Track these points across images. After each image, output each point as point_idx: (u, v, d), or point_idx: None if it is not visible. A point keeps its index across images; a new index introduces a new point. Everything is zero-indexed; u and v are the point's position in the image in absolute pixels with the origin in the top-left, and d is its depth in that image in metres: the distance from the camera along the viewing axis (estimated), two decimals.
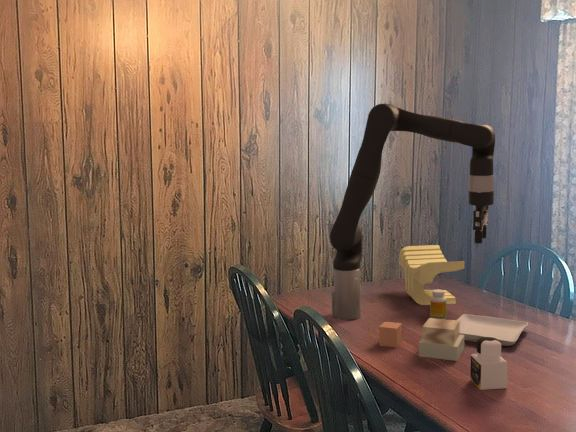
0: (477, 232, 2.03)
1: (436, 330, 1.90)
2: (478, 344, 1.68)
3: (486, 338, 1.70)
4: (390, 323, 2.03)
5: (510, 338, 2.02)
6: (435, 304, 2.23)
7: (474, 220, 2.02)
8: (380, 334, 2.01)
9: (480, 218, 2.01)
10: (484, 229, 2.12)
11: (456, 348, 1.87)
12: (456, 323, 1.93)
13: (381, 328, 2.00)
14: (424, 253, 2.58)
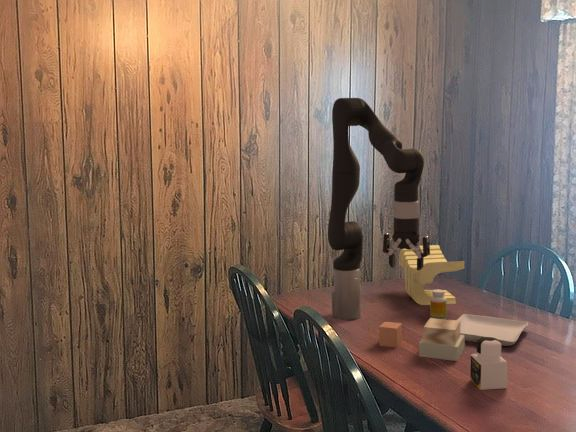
0: (422, 258, 1.98)
1: (437, 330, 1.89)
2: (478, 344, 1.68)
3: (486, 338, 1.70)
4: (390, 323, 2.03)
5: (510, 338, 2.02)
6: (435, 304, 2.23)
7: (427, 246, 1.96)
8: (380, 334, 2.01)
9: (429, 243, 1.97)
10: (394, 257, 2.04)
11: (456, 348, 1.87)
12: (457, 323, 1.93)
13: (381, 328, 2.00)
14: None
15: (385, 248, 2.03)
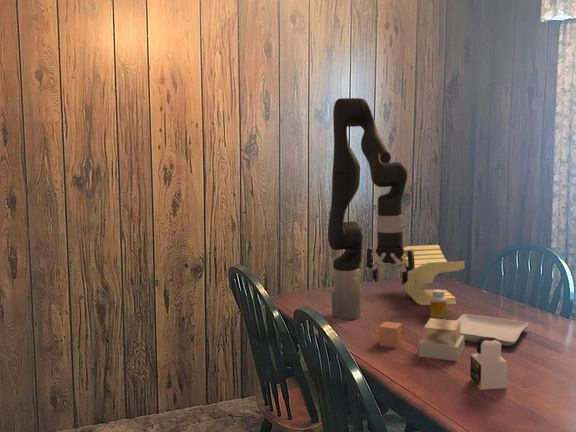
0: (407, 272, 1.97)
1: (437, 330, 1.89)
2: (478, 344, 1.68)
3: (486, 338, 1.70)
4: (390, 323, 2.03)
5: (510, 338, 2.02)
6: (435, 304, 2.23)
7: (412, 260, 1.95)
8: (380, 334, 2.01)
9: (413, 256, 1.97)
10: (378, 271, 2.02)
11: (456, 348, 1.87)
12: (457, 323, 1.93)
13: (381, 328, 2.00)
14: (424, 253, 2.58)
15: (369, 263, 2.01)
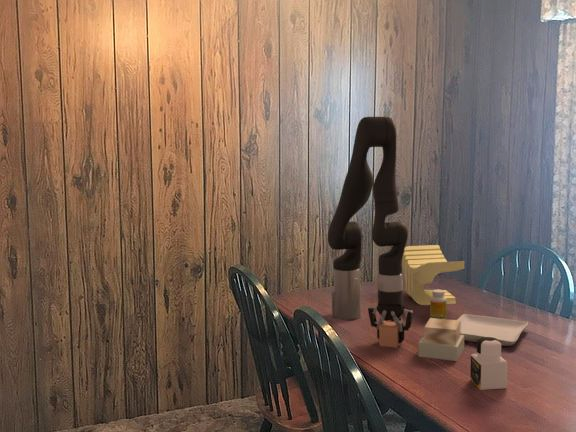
0: (403, 331, 2.00)
1: (437, 330, 1.90)
2: (478, 344, 1.68)
3: (486, 338, 1.70)
4: (390, 323, 2.03)
5: (510, 338, 2.02)
6: (435, 304, 2.23)
7: (410, 321, 1.98)
8: (380, 334, 2.01)
9: None
10: None
11: (456, 348, 1.87)
12: (457, 323, 1.93)
13: (381, 328, 2.00)
14: (424, 253, 2.58)
15: (373, 322, 2.03)
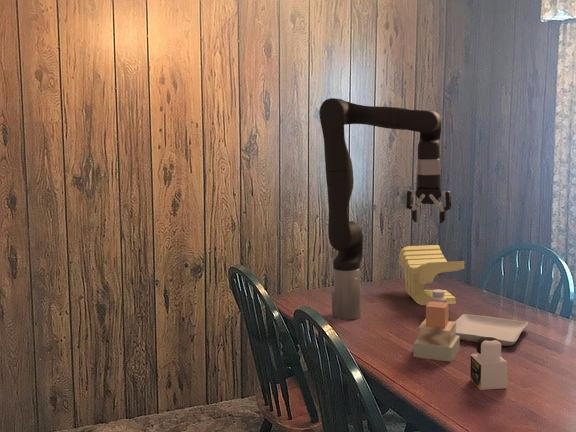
0: (444, 212, 2.14)
1: (431, 331, 1.89)
2: (478, 344, 1.68)
3: (486, 338, 1.70)
4: (436, 303, 1.93)
5: (510, 338, 2.02)
6: None
7: (449, 200, 2.12)
8: (427, 314, 1.91)
9: (450, 197, 2.14)
10: None
11: (451, 349, 1.86)
12: (452, 324, 1.92)
13: (428, 308, 1.90)
14: (424, 253, 2.58)
15: (408, 204, 2.17)
